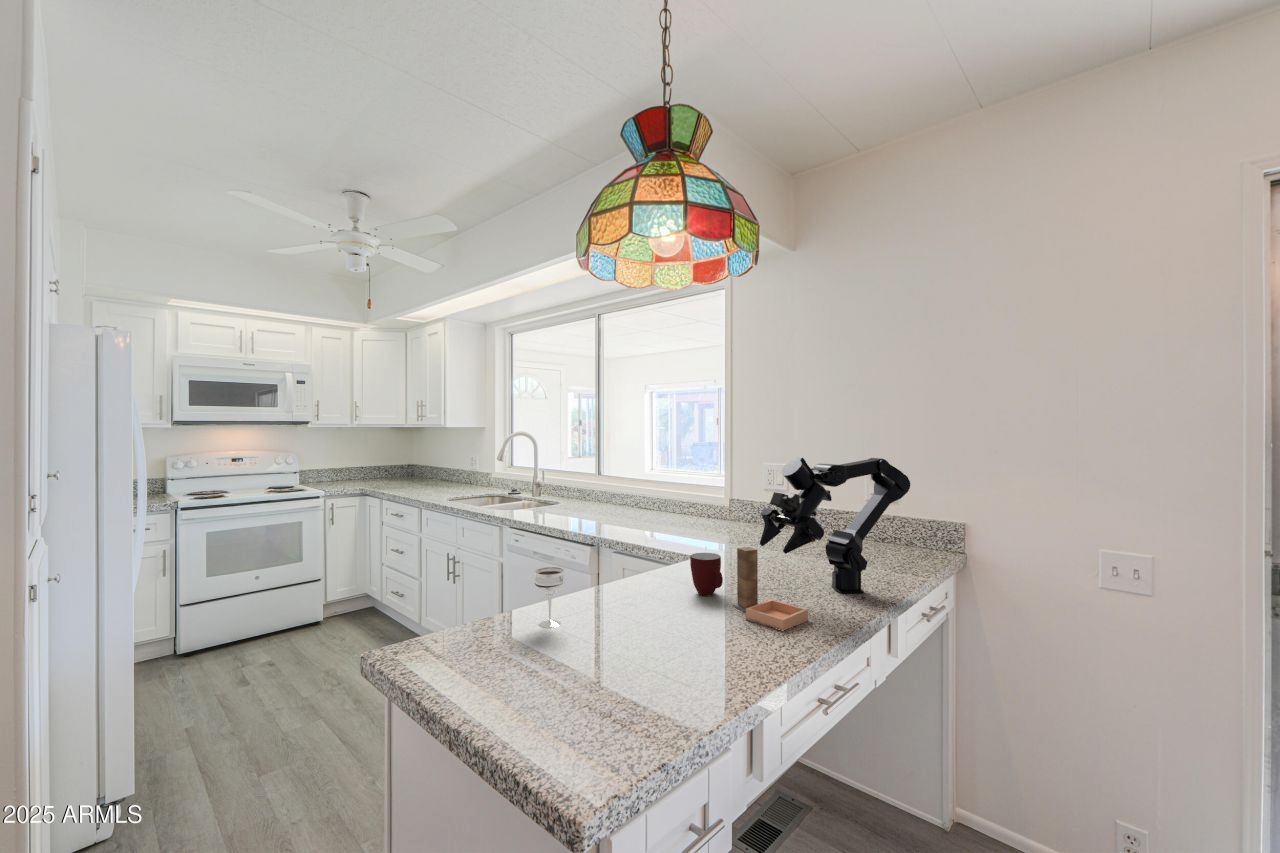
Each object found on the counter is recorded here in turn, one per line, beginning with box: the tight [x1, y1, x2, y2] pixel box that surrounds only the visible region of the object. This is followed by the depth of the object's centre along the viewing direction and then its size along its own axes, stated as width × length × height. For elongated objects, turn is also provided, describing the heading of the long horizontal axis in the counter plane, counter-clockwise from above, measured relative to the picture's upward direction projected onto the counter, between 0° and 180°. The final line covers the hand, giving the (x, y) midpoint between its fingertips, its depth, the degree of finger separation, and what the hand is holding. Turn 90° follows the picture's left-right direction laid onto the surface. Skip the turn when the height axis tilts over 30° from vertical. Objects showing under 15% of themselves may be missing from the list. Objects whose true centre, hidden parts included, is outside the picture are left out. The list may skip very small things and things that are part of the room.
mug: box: [689, 552, 724, 597], centre depth 144 cm, size 11×8×10 cm
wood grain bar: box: [732, 546, 759, 613], centre depth 134 cm, size 5×5×14 cm
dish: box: [745, 598, 809, 631], centre depth 125 cm, size 10×10×2 cm
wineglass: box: [534, 566, 565, 629], centre depth 124 cm, size 7×7×12 cm
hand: (772, 548), depth 137 cm, fingers open, 9 cm apart
